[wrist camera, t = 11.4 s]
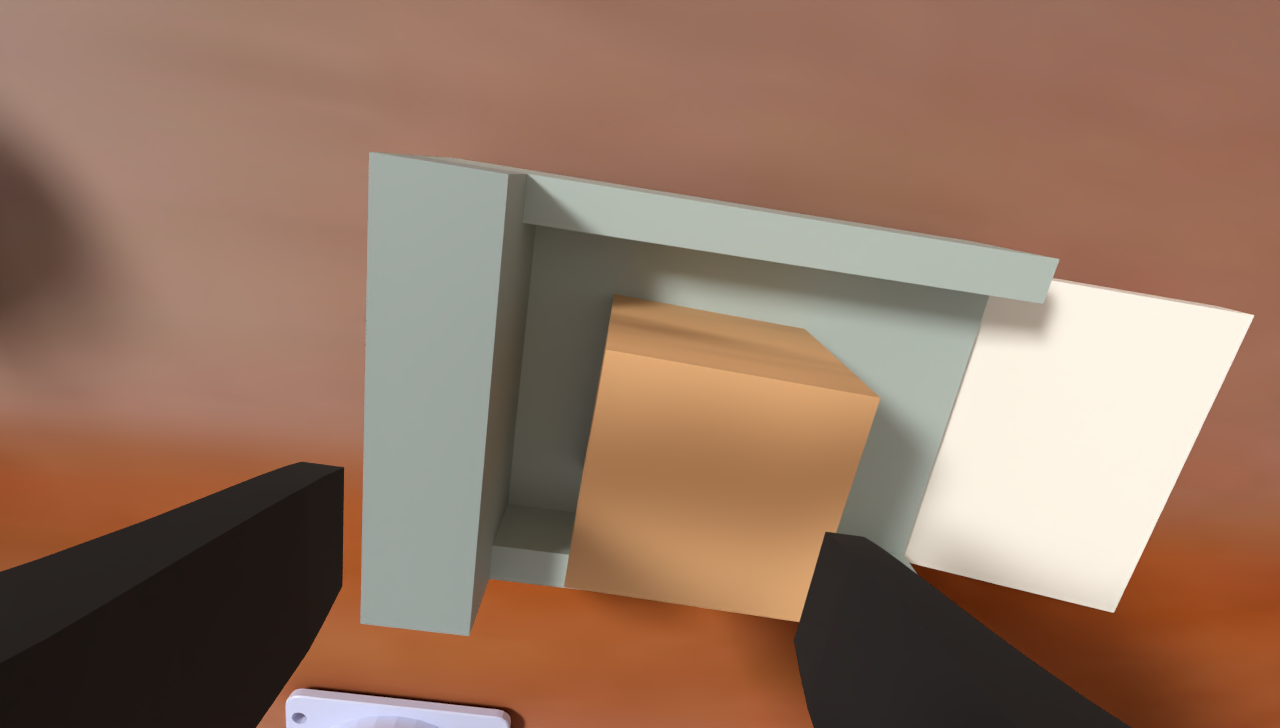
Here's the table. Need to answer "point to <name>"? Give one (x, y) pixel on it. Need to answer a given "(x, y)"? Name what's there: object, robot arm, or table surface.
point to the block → (714, 460)
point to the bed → (574, 346)
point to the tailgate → (1070, 438)
